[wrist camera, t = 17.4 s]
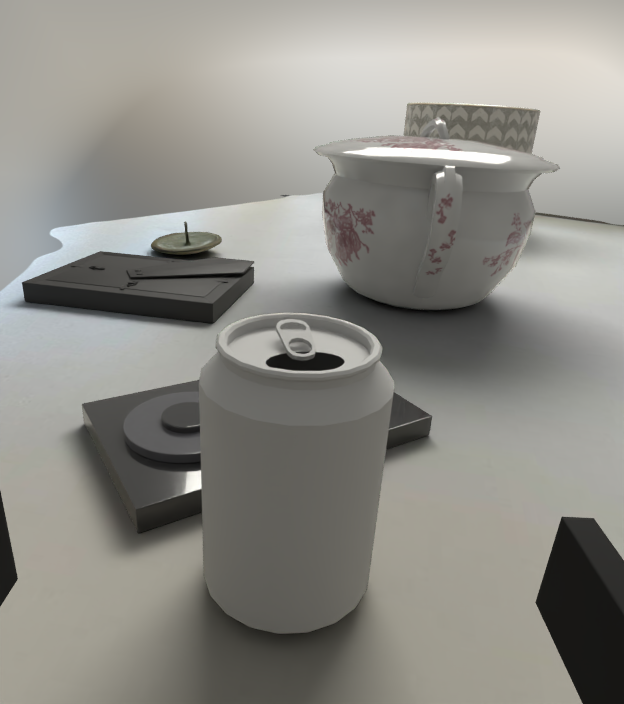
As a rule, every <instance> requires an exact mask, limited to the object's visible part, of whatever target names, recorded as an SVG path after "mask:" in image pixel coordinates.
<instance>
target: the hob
mask: <svg viewBox="0 0 624 704" xmlns="http://www.w3.org/2000/svg"><path fill="white" fill-rule="evenodd" d="M82 410H83V418H84V424H85V426H86V428H87V430H88V432H89V434H90V436H91V438H92V440H93V442H94V444H95V447H96V449H97V451H98V453H99V455H100V457H101V459H102V461H103V463H104V465H105V467H106V469H107V471H108V473H109V475H110V477H111V479H112V481H113V483H114V485H115V487H116V490H117V492H118V494H119V496H120V498H121V500H122V502H123V504H124V506H125V508H126V510H127V512H128V514H129V516H130V518H131V520H132V522H133V524H134V526H135V528H136V530H137V532H138V533H141V532H144V531H147V530H150V529H153V528H156V527H159V526H162V525H165V524H168V523H171V522H174V521H177V520H180V519H182V518H185V517H188V516H191V515H194V514H197V513H200V512H202V488H201V448H200V407H199V380H197V381H192V382H187V383H182V384H177V385H172V386H167V387H162V388H157V389H153V390H148V391H143V392H138V393H133V394H128V395H123V396H118V397H113V398H108V399H104V400H99V401H94V402H89V403H84V404H82ZM431 420H432V416H431V415H429V414H428V413H426V412H425V411H423V410H421V409H420V408H418V407H417V406H415V405H413V404H412V403H410V402H409V401H407V400H406V399H404V398H402V397H401V396H399V395H398V394H396V393H393V400H392V408H391V415H390V423H389V430H388V438H387V445H386V449H389V448H392V447H395V446H398V445H401V444H404V443H407V442H409V441H412V440H415V439H418V438H421V437H424V436H427V435H429V432H430V426H431Z"/></svg>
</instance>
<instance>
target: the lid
mask: <svg viewBox="0 0 624 704" xmlns="http://www.w3.org/2000/svg"><path fill="white" fill-rule="evenodd" d="M184 223H185V233H173V234H169V235H165V236H162V237H159V238H158V239H156V240H155V241H154V242H153V243H152V244H151V247H152V249H153V250H155V251H158V252H162V253H167V254H177V255H185V254H194V253H198V252H202V251H205V250H208V249H211V248H213V247H215V246H217V245H218V244H220V243H221V241H222V239H221V237H220V236H219V235H216V234H212V233H208V232H187V223H186V222H184Z"/></svg>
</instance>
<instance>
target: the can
mask: <svg viewBox="0 0 624 704" xmlns="http://www.w3.org/2000/svg"><path fill="white" fill-rule="evenodd" d="M216 349H217V350H218V352H217V353H216V354H215V355H214V356H213V357H212V358H211V359H210V360H209V361H208V362H207V363H206V364H205V365H204V366H203V367H202V369H201V374H200V379H199V407H200V448H201V488H202V529H203V570H204V578H205V581H206V584H207V587H208V590H209V593H210V596H211V597H212V598H213V599H214V600H215V601H216V603H217V604H218V605H219V606H220V607H221V608H222V609H223V611H224V612H225V613H226V614H228V615H229V616H231V617H233V618H235V619H236V620H238V621H240V622H241V623H243V624H245V625H247V626H248V627H251V628H255V629H260V630H264V631H268V632H273V633H277V634H286V633H307V632H311V631H314V630H317V629H320V628H323V627H326V626H328V625H331V624H334V623H336V622H337V621H339V620H340V619H341V618H343V617H344V616H345V615H347V614H348V613H349V612H351V611H352V610H353V609H355V608H356V606H357V604H358V603H359V601H360V600H361V598H362V596H363V595H364V593H365V592H366V590H367V586H368V579H369V572H370V565H371V558H372V550H373V543H374V535H375V528H376V520H377V513H378V505H379V498H380V490H381V483H382V475H383V468H384V460H385V453H386V445H387V438H388V430H389V423H390V415H391V408H392V400H393V393H394V385H395V383H394V381H393V379H392V377H391V375H390V374H389V372H388V370H387V369H386V368H385V366H384V365H383V364H382V363H381V361H380V358H381V354H382V349H383V348H382V346H381V344H380V342H379V341H378V339H377V338H376V337H375V336H374V335H373V334H371V333H370V332H369V331H367V330H366V329H364V328H363V327H360V326H358V325H356V324H353V323H351V322H348V321H345V320H341V319H337V318H333V317H329V316H323V315H315V314H307V313H274V314H262V315H257V316H253V317H248V318H244V319H241V320H239V321H237V322H234V323H232V324H230V325H228V326H227V327H225V328H224V329H223V330H222V331H221V332H220V333H219V334H218V335H217V340H216Z"/></svg>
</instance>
